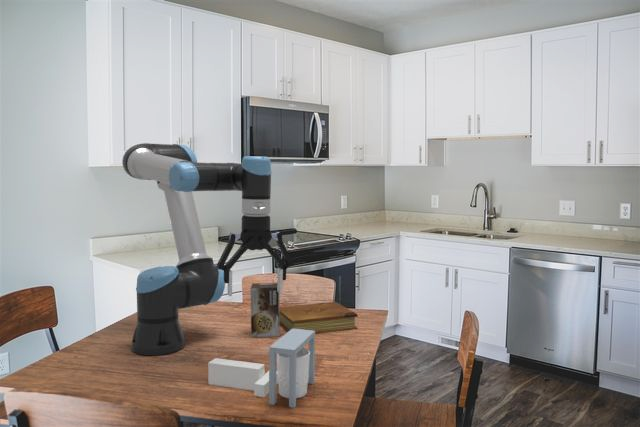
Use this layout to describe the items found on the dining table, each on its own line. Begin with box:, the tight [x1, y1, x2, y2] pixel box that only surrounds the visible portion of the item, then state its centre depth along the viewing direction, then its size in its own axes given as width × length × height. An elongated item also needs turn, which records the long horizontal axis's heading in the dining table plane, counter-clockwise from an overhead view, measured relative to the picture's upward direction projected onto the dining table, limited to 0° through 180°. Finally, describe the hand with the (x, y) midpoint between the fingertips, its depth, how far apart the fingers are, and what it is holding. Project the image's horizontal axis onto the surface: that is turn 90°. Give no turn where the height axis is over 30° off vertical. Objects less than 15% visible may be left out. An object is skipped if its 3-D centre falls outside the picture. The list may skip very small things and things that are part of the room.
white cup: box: [276, 347, 310, 399], centre depth 127 cm, size 8×8×10 cm
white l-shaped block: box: [207, 357, 279, 398], centre depth 131 cm, size 16×9×6 cm, turn 73°
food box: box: [249, 282, 281, 338], centre depth 171 cm, size 9×6×16 cm
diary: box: [280, 301, 358, 335], centre depth 183 cm, size 23×19×6 cm
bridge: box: [268, 328, 316, 409], centre depth 126 cm, size 6×15×13 cm, turn 163°
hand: (255, 293), depth 143 cm, fingers open, 13 cm apart
